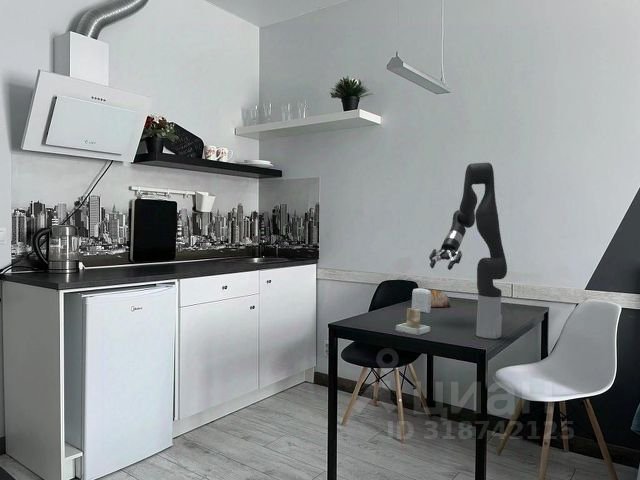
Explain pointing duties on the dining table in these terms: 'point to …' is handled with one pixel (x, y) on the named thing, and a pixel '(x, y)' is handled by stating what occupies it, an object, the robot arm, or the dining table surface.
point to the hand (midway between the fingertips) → (440, 267)
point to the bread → (439, 299)
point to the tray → (413, 329)
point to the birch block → (413, 318)
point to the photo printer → (421, 300)
